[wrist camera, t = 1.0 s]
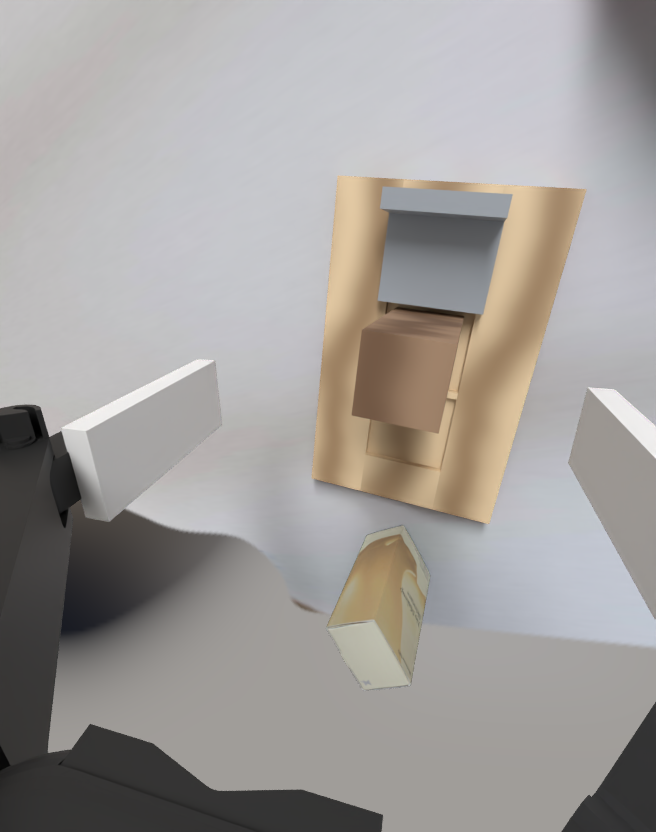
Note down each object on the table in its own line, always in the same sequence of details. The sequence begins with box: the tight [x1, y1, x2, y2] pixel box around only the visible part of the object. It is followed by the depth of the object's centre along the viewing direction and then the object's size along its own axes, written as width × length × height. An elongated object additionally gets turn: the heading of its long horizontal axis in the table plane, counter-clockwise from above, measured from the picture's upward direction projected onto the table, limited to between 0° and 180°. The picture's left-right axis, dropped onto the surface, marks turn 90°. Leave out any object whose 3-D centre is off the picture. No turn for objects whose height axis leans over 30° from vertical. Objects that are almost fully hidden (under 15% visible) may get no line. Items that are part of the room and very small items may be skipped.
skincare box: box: [326, 526, 430, 691], centre depth 36 cm, size 6×4×12 cm
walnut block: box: [352, 307, 464, 434], centre depth 28 cm, size 5×5×11 cm
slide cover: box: [378, 187, 513, 315], centre depth 27 cm, size 7×7×4 cm
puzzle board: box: [312, 176, 586, 524], centre depth 33 cm, size 16×25×2 cm, turn 175°
